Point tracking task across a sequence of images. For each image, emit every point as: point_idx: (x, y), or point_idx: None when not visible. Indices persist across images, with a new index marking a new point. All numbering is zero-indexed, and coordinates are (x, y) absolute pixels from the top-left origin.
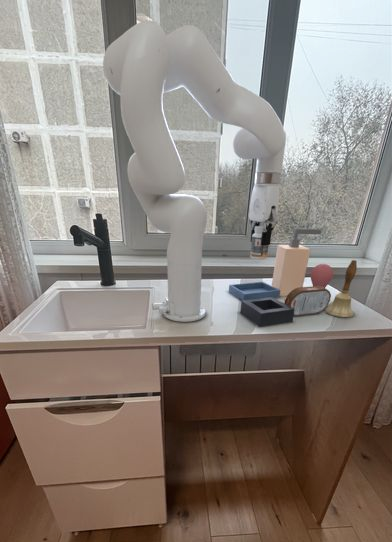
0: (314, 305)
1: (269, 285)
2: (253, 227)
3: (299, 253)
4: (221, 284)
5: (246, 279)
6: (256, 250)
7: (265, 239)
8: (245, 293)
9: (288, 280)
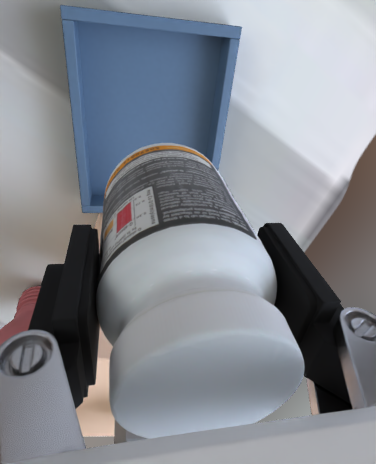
0: None
1: None
2: (339, 334)
3: None
4: (336, 60)
5: (320, 204)
6: (127, 179)
7: (45, 280)
8: (70, 18)
9: None
